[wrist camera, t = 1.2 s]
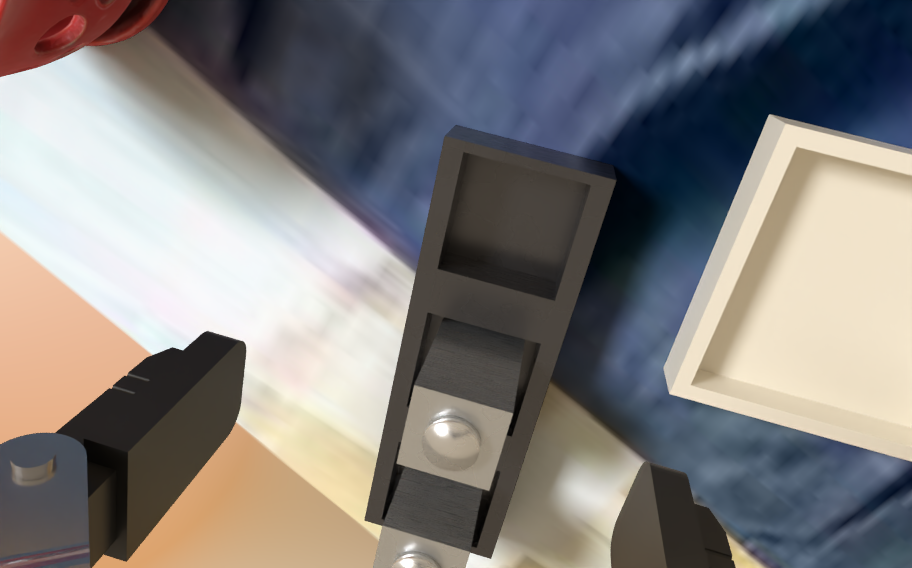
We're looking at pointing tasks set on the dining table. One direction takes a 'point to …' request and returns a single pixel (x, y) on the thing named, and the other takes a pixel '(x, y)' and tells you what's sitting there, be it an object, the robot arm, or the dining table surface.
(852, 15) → the dining table surface
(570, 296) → the dark grey compartment tray
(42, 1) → the plant pot
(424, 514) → the square metal peg
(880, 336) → the parts tray
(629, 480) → the dining table surface
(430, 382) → the silver knobbed block
